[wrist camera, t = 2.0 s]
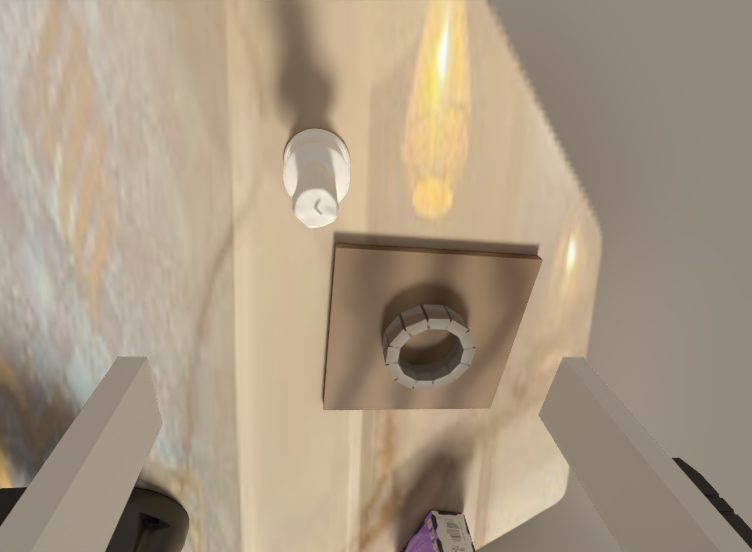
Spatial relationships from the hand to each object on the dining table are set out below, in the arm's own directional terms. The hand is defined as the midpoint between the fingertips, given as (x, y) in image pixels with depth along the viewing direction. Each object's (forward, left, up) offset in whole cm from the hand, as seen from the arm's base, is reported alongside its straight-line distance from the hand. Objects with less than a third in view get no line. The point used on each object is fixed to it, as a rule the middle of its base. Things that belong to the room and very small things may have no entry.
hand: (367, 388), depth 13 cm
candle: (-2, +2, -24) cm, 24 cm away
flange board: (+10, -15, -23) cm, 29 cm away
